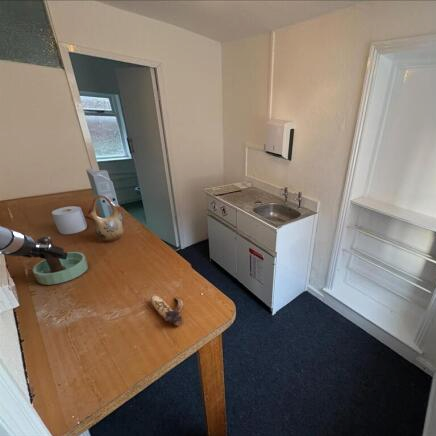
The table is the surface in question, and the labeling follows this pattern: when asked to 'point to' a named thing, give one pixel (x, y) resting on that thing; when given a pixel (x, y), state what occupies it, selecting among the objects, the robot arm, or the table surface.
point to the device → (103, 191)
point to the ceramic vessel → (106, 222)
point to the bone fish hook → (168, 310)
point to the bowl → (73, 265)
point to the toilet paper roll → (69, 220)
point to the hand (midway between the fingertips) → (59, 256)
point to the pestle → (51, 257)
